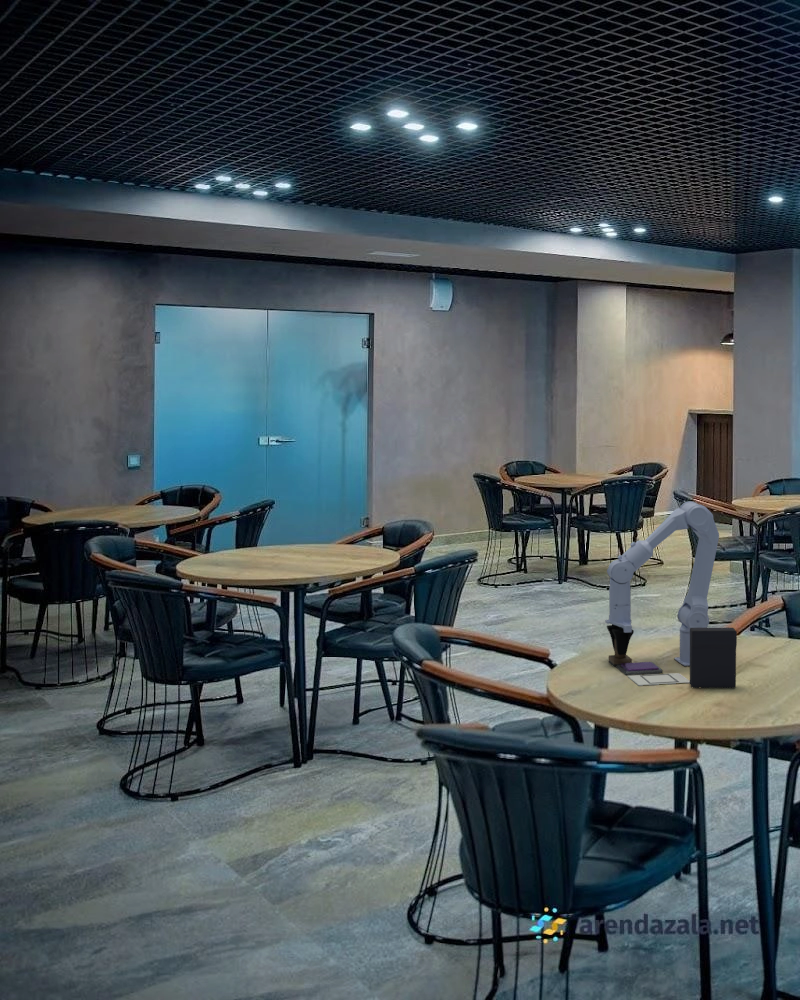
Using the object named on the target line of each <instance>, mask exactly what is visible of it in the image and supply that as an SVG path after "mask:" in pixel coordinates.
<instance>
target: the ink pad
mask: <svg viewBox="0 0 800 1000" xmlns="http://www.w3.org/2000/svg"><path fill="white" fill-rule="evenodd" d="M616 669H618V670H619V671H620V672H621V673H622V674H623V675H625V676H633V675H642V674H644V675H652V674H659V673H663V669H662V668H661V667H660V666H658V665H657V664H655V663H654V662H652V661H642V662H632V663H621V664H617V667H616ZM663 674H664V673H663Z"/></svg>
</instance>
